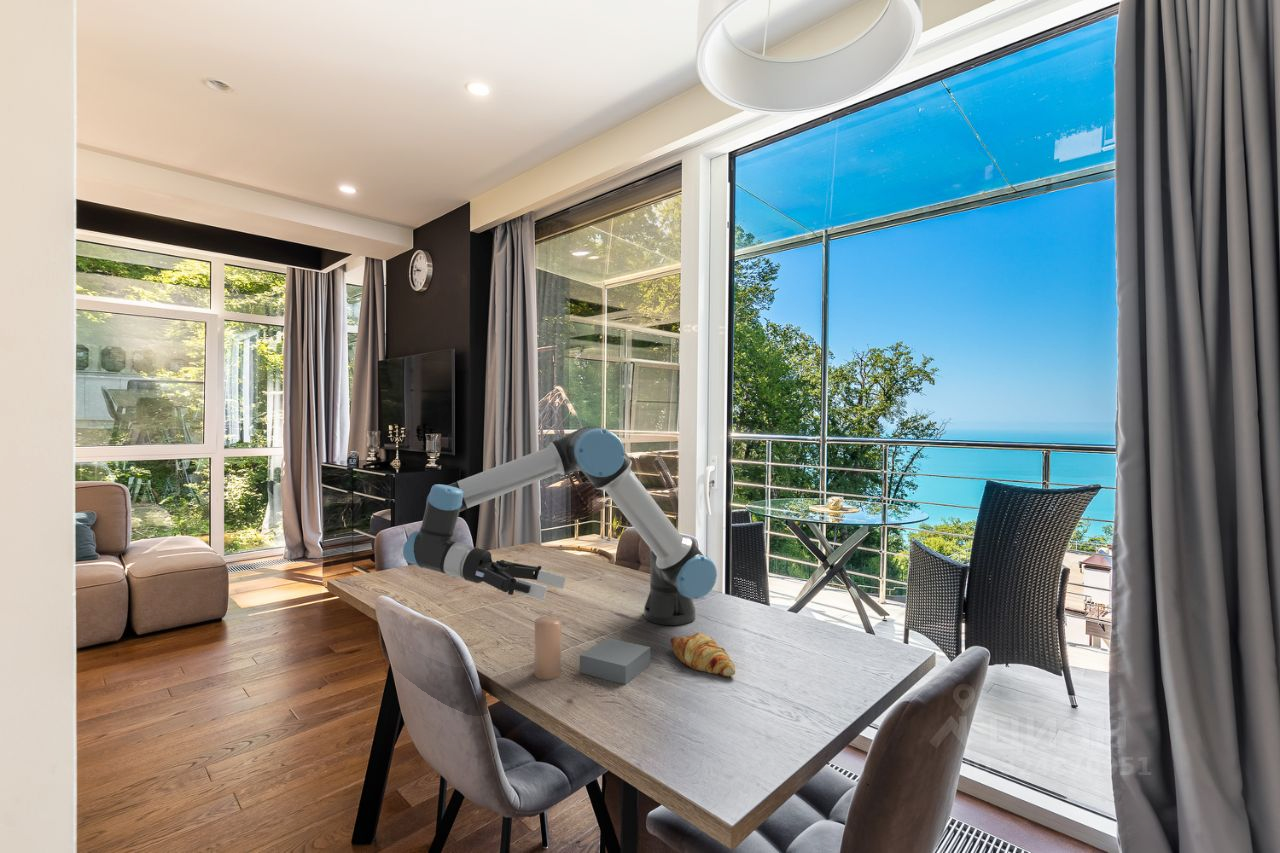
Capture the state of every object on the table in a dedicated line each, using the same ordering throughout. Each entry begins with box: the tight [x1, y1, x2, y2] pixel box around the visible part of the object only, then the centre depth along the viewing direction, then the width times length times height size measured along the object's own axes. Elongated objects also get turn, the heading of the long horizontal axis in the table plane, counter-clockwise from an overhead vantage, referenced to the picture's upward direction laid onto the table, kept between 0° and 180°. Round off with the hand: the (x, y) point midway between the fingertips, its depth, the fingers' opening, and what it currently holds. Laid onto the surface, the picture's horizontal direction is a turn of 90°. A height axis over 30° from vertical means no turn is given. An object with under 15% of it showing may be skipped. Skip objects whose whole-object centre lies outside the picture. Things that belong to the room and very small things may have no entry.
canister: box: [533, 615, 563, 681], centre depth 131 cm, size 6×6×12 cm
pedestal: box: [579, 637, 652, 685], centre depth 134 cm, size 12×12×4 cm
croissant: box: [670, 632, 736, 677], centre depth 137 cm, size 21×10×8 cm, turn 39°
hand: (555, 587), depth 129 cm, fingers open, 13 cm apart
